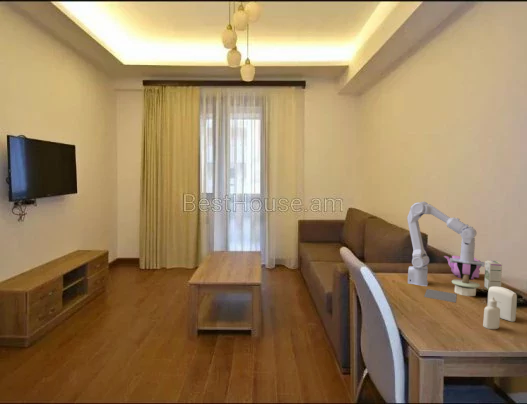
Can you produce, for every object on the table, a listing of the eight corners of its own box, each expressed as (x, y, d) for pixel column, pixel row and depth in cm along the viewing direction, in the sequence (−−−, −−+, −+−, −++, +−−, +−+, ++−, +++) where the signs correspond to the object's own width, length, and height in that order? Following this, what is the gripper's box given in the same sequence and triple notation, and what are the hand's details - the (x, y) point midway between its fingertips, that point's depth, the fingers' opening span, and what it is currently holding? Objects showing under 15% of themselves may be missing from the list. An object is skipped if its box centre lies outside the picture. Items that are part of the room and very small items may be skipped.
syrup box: (501, 291, 171) (503, 263, 169) (488, 290, 172) (490, 262, 171) (495, 287, 176) (497, 260, 175) (483, 286, 177) (485, 259, 176)
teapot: (478, 275, 197) (479, 254, 196) (483, 280, 188) (485, 258, 187) (440, 272, 204) (441, 251, 203) (443, 277, 194) (445, 255, 193)
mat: (423, 297, 160) (423, 296, 160) (426, 289, 171) (426, 288, 171) (455, 303, 153) (455, 302, 153) (456, 294, 165) (456, 293, 165)
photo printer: (484, 313, 143) (486, 284, 142) (490, 311, 145) (492, 283, 144) (511, 322, 134) (513, 292, 133) (517, 320, 136) (519, 291, 135)
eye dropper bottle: (480, 323, 133) (483, 294, 132) (497, 326, 131) (499, 296, 130) (484, 328, 128) (486, 298, 127) (501, 330, 127) (503, 300, 126)
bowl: (454, 294, 165) (454, 286, 165) (454, 289, 173) (455, 281, 172) (475, 298, 160) (476, 290, 160) (475, 292, 168) (475, 284, 168)
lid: (450, 284, 164) (450, 274, 164) (453, 279, 174) (453, 270, 174) (479, 289, 157) (479, 279, 157) (480, 284, 167) (481, 274, 167)
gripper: (450, 251, 165) (448, 278, 166) (485, 255, 158) (483, 283, 159) (450, 248, 171) (449, 274, 172) (484, 252, 164) (483, 279, 165)
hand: (465, 278), depth 166 cm, fingers closed on lid, 3 cm apart
